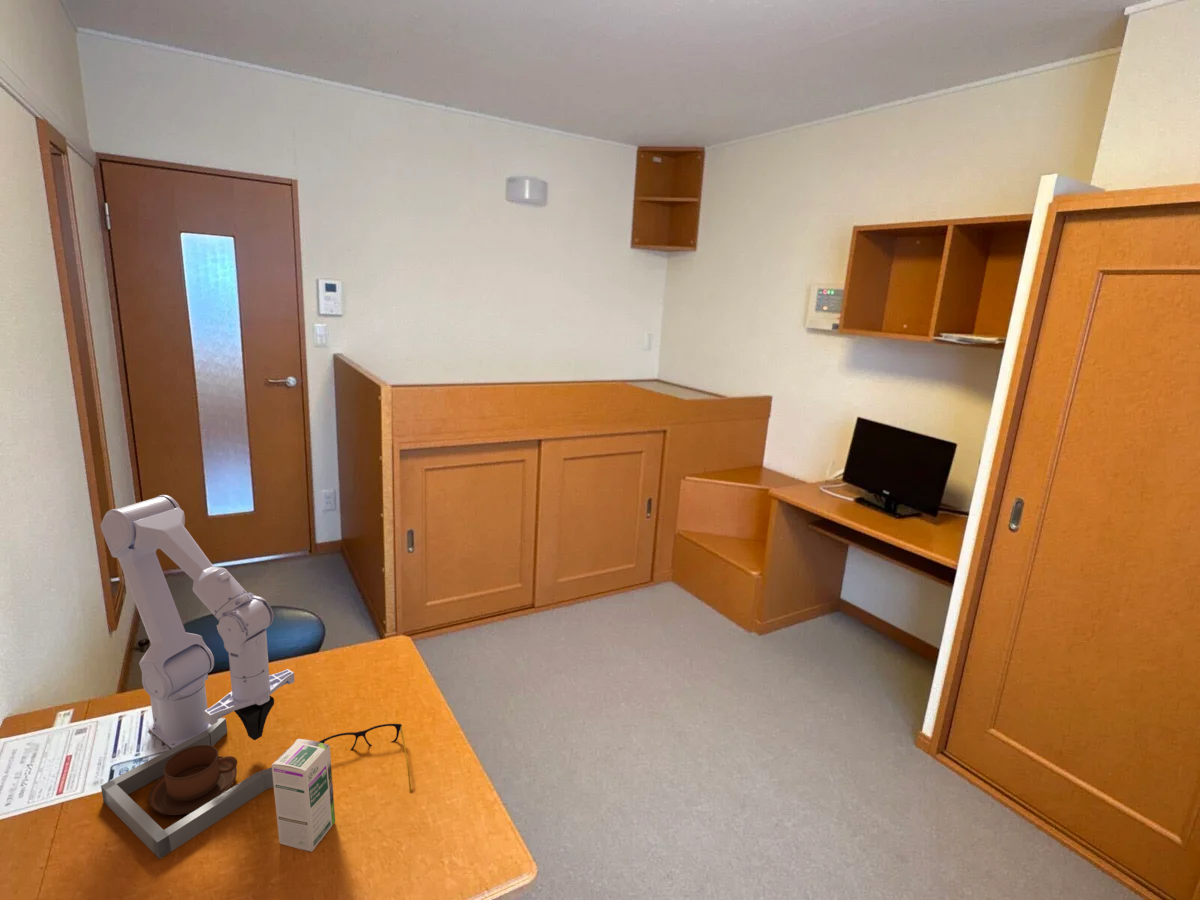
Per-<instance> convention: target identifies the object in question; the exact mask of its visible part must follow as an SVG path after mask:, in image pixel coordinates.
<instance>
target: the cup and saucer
mask: <svg viewBox="0 0 1200 900" xmlns="http://www.w3.org/2000/svg"><path fill="white" fill-rule="evenodd" d="M237 766H238V760H237V758H236V757H234V756H233V755H226V756H219V751H218V749H217V748H216V747H214V746H210V745H196V746H192V747H189V748H186V749H184V750H182V751H180V752H178V753H176V754H175V755H173V756H172V757H171V758H170V759H169V760H168V761H167V762H166V764H165V766H164V775H163V776H161V777H159V778H157V779H156V780H157V781H156V780H155V782H154V783H153V785H152V787H151V789H150V791H149V794H148V802H149V806H151V808H152V810H154V811H155V812H157V813H159V814H162V815H167V816H178V815H179V816H181V815H188V814H190V813H192V812H193V811H195V810H197V809H198V808H200V807H202V806H203V805H205V804H206V803H208V802H210V801H211V800H213V799H214V798H216V797H218V796H219V795H221V794H222V793H224V792H226V791H227V790H229V789H230V788H232V787H233V785H234V783H235V781H236V778H237V773H238V772H237V771H238V770H237Z"/></svg>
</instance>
